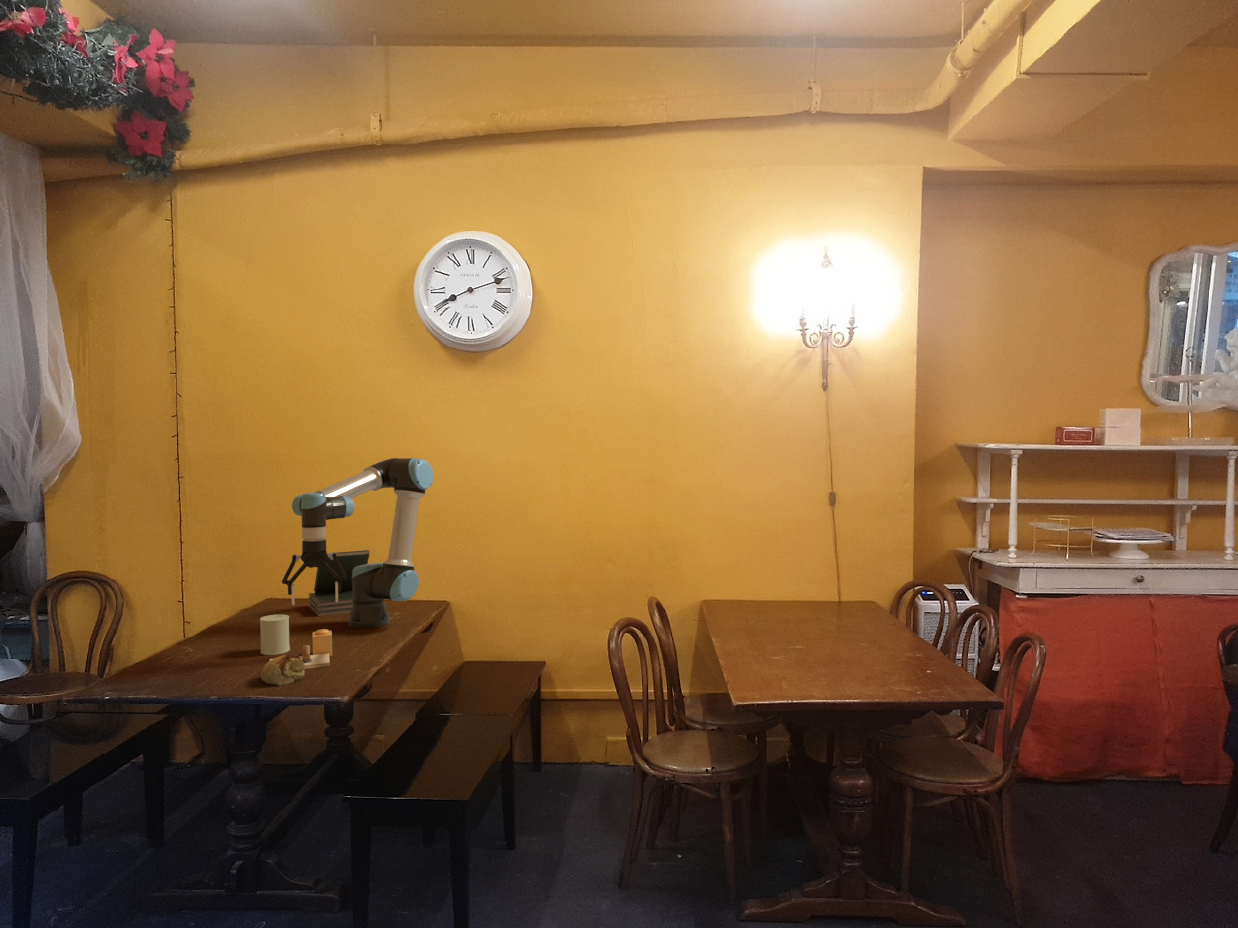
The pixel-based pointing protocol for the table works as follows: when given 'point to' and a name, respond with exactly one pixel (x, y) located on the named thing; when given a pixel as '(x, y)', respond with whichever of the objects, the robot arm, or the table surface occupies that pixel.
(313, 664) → the flat beige board
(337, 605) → the dark boxy piece
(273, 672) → the pastry
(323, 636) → the cube with dome bump
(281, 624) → the can
